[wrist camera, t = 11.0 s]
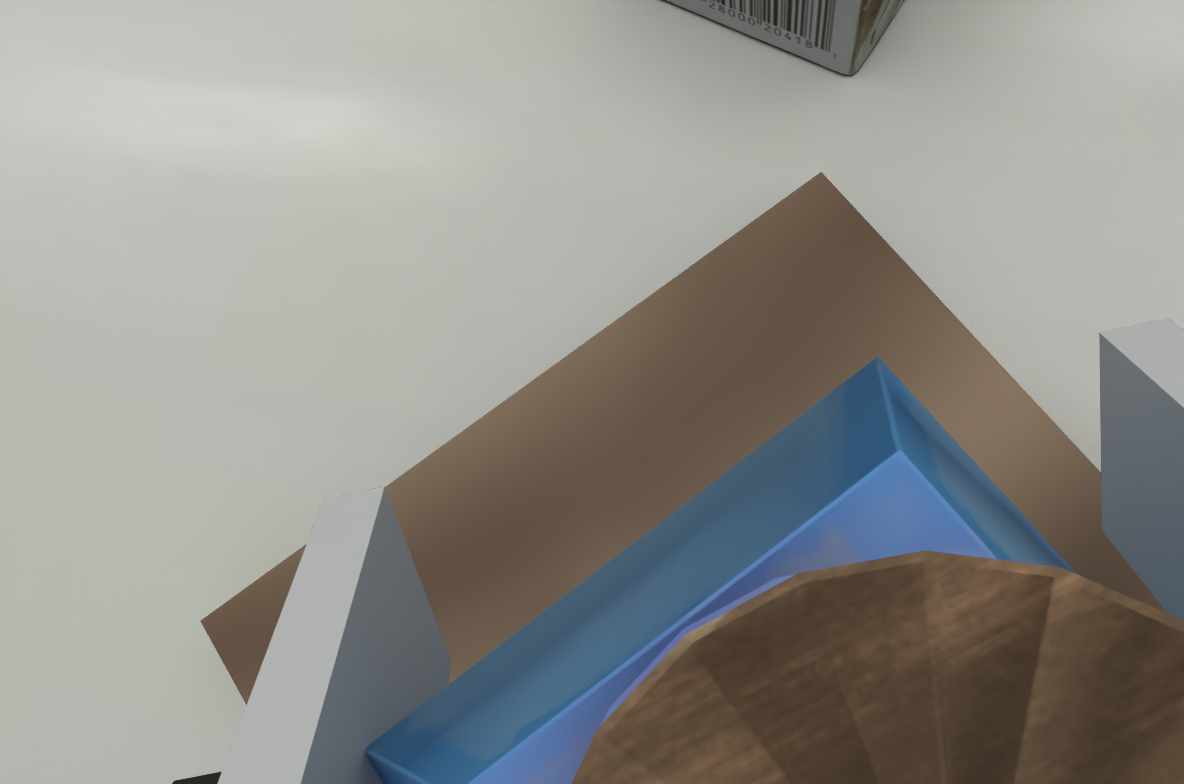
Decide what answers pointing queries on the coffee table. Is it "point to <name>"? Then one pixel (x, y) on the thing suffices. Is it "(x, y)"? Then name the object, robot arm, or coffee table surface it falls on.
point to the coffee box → (807, 26)
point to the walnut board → (698, 429)
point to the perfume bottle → (822, 638)
